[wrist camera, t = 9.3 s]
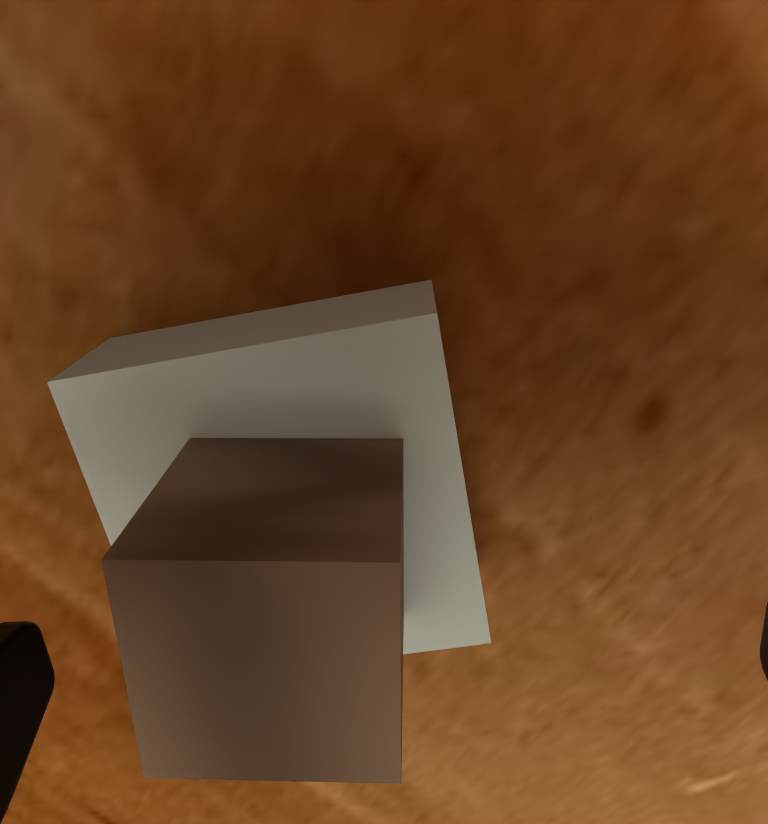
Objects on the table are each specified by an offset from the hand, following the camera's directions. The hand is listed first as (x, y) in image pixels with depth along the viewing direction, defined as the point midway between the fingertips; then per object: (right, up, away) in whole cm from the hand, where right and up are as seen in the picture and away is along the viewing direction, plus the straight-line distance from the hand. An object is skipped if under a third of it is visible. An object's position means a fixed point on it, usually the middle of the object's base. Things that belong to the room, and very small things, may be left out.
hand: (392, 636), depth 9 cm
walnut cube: (-2, 0, +9) cm, 9 cm away
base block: (-2, +2, +12) cm, 13 cm away
